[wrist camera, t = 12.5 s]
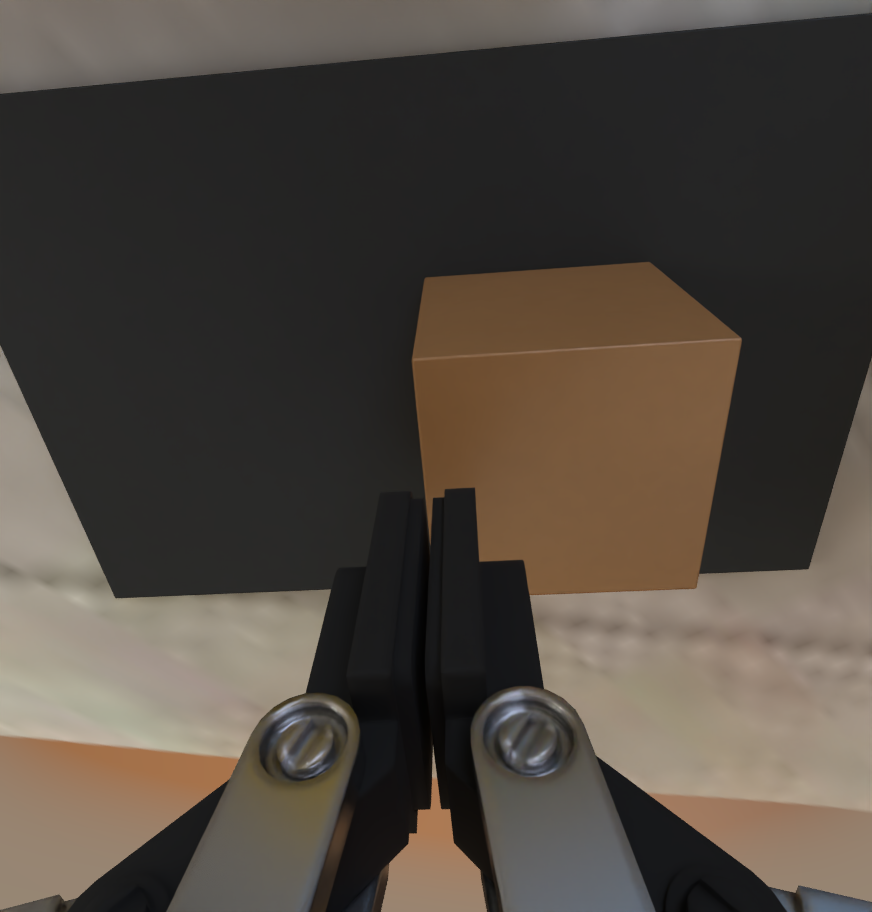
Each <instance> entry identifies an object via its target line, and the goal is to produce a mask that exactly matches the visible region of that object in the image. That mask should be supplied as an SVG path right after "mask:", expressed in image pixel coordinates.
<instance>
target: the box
mask: <svg viewBox="0 0 872 912" xmlns="http://www.w3.org/2000/svg"><path fill="white" fill-rule="evenodd" d="M741 343H742V339H741V337H739V336H738V335H737V334H736V333H735V332H733V331H732V330H731V329H730V328H729V327H727V326H726V325H725V324H724V323H723V322H721V321H720V320H719V319H718V318H717V317H715V316H714V315H713V314H712V313H711V312H709V311H708V310H707V309H706V308H705V307H703V306H702V305H701V304H700V303H699V302H697V301H696V300H695V299H694V298H693V297H691V296H690V295H689V294H688V293H686V292H685V291H684V290H683V289H682V288H680V287H679V286H678V285H677V284H676V283H674V282H673V281H672V280H671V279H670V278H668V277H667V276H666V275H665V274H664V273H662V272H661V271H660V270H659V269H658V268H656V267H655V266H654V265H653V264H652V263H650V262H640V263H626V264H611V265H597V266H583V267H569V268H554V269H540V270H526V271H511V272H497V273H483V274H468V275H454V276H440V277H426V278H425V279H424V285H423V291H422V298H421V304H420V310H419V317H418V323H417V330H416V336H415V343H414V349H413V356H412V369H413V379H414V388H415V398H416V408H417V418H418V428H419V438H420V448H421V458H422V468H423V478H424V488H425V498H426V508H427V518H428V528H429V537H430V544H431V524H432V504H433V498H438V497H444V491H445V489H455V488H474V487H475V495H476V513H477V530H478V547H479V562H481V561H504V560H523V561H524V564H525V570H526V576H527V583H528V589H529V595H545V594H571V593H596V592H621V591H647V590H672V589H695V588H696V587H697V582H698V576H699V571H700V565H701V560H702V555H703V549H704V544H705V538H706V533H707V527H708V522H709V516H710V511H711V506H712V500H713V495H714V489H715V484H716V478H717V473H718V468H719V462H720V457H721V451H722V446H723V440H724V435H725V429H726V424H727V419H728V413H729V408H730V402H731V397H732V391H733V386H734V381H735V375H736V370H737V364H738V359H739V353H740V348H741Z"/></svg>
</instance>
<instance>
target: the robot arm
mask: <svg viewBox="0 0 872 912" xmlns="http://www.w3.org/2000/svg"><path fill="white" fill-rule="evenodd" d="M433 747H434V755H435V763H436V771H437V779H438V787H439V795H440V803H441V809H450V812H451V821H452V829H453V839H454V843H455V844H456V845H457V846H458V847H459V848H460V849H461V850H462V851H463V853H465V855H466V856H467V857H468V858H469V859H470V860H471V861H472V862H473V863H474V864H475V865H476V866H477V867H478V868H479V869H480V870H481V880H482V885H483V892H484V897H485V903H486V909H487V912H872V902H869V901H865V900H860V899H855V898H852V897H847V896H843V895H838V894H834V893H830V892H825V891H821V890H817V889H812V888H808V887H803V886H798V888H797V891H796V893H793V892H789V891H784V890H780V889H776V888H771V887H768V886H767V885H766V884H765V883H764V882H763V881H762V880H761V879H759V878H758V877H757V876H756V875H755V874H754V873H753V872H752V871H751V870H749V869H748V868H746V867H745V866H744V865H742V864H741V863H740V862H738V861H737V860H736V859H734V858H733V857H732V856H730V855H729V854H728V853H726V852H725V851H723V850H722V849H721V848H720V847H718V846H717V845H716V844H714V843H713V842H711V841H710V840H709V839H707V838H706V837H705V836H703V835H702V834H701V833H699V832H698V831H696V830H695V829H694V828H692V827H691V826H690V825H688V824H687V823H686V822H685V821H683V820H681V818H679V817H678V816H676V815H675V814H674V813H672V812H671V811H670V810H668V809H667V808H666V807H664V806H663V805H662V804H660V803H659V802H658V801H656V800H655V799H654V798H652V797H651V796H650V795H648V794H647V793H646V792H644V791H643V790H641V789H640V788H639V787H637V786H636V785H635V784H633V783H632V782H631V781H629V780H628V779H627V778H625V777H624V776H623V775H621V774H620V773H619V772H617V771H616V770H615V769H613V768H612V767H611V766H609V765H608V764H606V763H605V762H604V761H602V760H601V759H600V758H598V757H597V756H596V755H595V752H594V750H593V747H592V744H591V742H590V739H589V736H588V734H587V731H586V729H585V726H584V724H583V722H582V720H581V719H580V717H579V715H578V713H577V712H576V710H575V709H574V708H573V707H572V706H571V705H570V704H569V703H568V702H567V701H565V700H564V699H563V698H562V697H560V696H558V695H556V694H554V693H552V692H550V691H548V690H545V689H544V686H543V680H542V673H541V667H540V660H539V654H538V647H537V641H536V635H535V628H534V622H533V615H532V609H531V602H530V596H529V589H528V583H527V576H526V570H525V564H524V561H523V560H504V561H481V562H479V547H478V530H477V513H476V495H475V487H474V488H455V489H445V491H444V497H438V498H433V504H432V524H431V544H430V550H429V541H428V531H427V521H426V512H425V503H424V498H418V499H413V495H412V491H395V492H381V493H380V495H379V500H378V506H377V511H376V517H375V522H374V528H373V533H372V538H371V544H370V549H369V555H368V560H367V566H366V567H344V568H338V570H337V571H336V574H335V577H334V581H333V585H332V589H331V593H330V597H329V601H328V605H327V609H326V613H325V617H324V621H323V625H322V629H321V633H320V638H319V642H318V646H317V650H316V654H315V658H314V662H313V666H312V670H311V674H310V678H309V682H308V686H307V690H306V693H305V694H302V695H299V696H295V697H292V698H289V699H287V700H286V701H284V702H282V703H280V704H279V705H277V706H275V707H274V708H273V709H271V710H270V711H269V712H268V713H267V714H266V715H265V716H264V717H263V718H262V719H261V720H260V722H259V723H258V725H257V726H256V728H255V729H254V731H253V732H252V734H251V736H250V738H249V740H248V742H247V744H246V746H245V748H244V750H243V752H242V755H241V757H240V759H239V761H238V763H237V765H236V767H235V770H234V771H233V774H232V775H231V778H230V779H229V780H228V781H227V782H225V783H224V784H223V785H221V786H220V787H219V788H217V789H216V790H215V791H213V792H212V793H211V794H210V795H208V796H207V797H206V798H204V799H203V800H202V801H201V802H199V803H198V804H197V805H195V806H194V807H192V808H191V809H190V810H189V811H187V812H186V813H185V814H183V815H182V816H181V817H179V818H178V819H177V820H175V821H174V822H173V823H171V824H170V825H169V826H168V827H166V828H165V829H164V830H162V831H161V832H160V833H158V834H157V835H156V836H154V837H153V838H152V839H150V840H149V841H148V842H146V843H145V844H144V845H143V846H141V847H140V848H139V849H138V850H136V851H135V852H133V853H132V854H131V855H129V856H128V857H127V858H125V859H124V860H123V861H121V862H120V863H119V864H118V865H116V866H115V867H114V868H112V869H111V870H110V871H108V872H107V873H106V874H104V875H103V876H102V877H101V878H99V879H98V880H97V881H96V882H94V883H93V884H92V885H91V886H90V887H89V888H88V889H87V890H86V891H85V892H84V893H82V894H81V895H80V896H79V897H78V898H76V899H72V900H68V901H64V900H63V899H62V897H61V896H60V895H56V896H52V897H48V898H44V899H40V900H37V901H33V902H29V903H25V904H22V905H18V906H14V907H10V908H6V909H3V910H0V912H381V908H382V903H383V899H384V895H385V890H386V885H387V881H388V871H389V863H390V861H391V860H392V859H393V858H394V857H395V856H396V855H397V854H398V853H399V852H400V851H401V850H402V849H403V848H404V847H405V846H406V845H407V844H408V841H409V833H417V815H418V810H420V809H421V810H423V809H424V810H425V809H430V807H431V789H432V788H431V787H432V756H433Z"/></svg>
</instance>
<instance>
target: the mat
mask: <svg viewBox="0 0 872 912" xmlns="http://www.w3.org/2000/svg"><path fill="white" fill-rule="evenodd" d="M640 262H650V263H652V264H653V265H654V266H655V267H656V268H658V269H659V270H660V271H661V272H662V273H664V274H665V275H666V276H667V277H668V278H670V279H671V280H672V281H673V282H674V283H676V284H677V285H678V286H679V287H680V288H682V289H683V290H684V291H685V292H686V293H688V294H689V295H690V296H691V297H693V298H694V299H695V300H696V301H697V302H699V303H700V304H701V305H702V306H703V307H705V308H706V309H707V310H708V311H709V312H711V313H712V314H713V315H714V316H715V317H717V318H718V319H719V320H720V321H721V322H723V323H724V324H725V325H726V326H727V327H729V328H730V329H731V330H732V331H733V332H735V333H736V334H737V335H738V336H739V337H741V339H742V343H741V348H740V353H739V359H738V364H737V370H736V375H735V381H734V386H733V391H732V397H731V402H730V408H729V413H728V419H727V424H726V429H725V435H724V440H723V446H722V451H721V457H720V462H719V468H718V473H717V478H716V484H715V489H714V495H713V500H712V506H711V511H710V516H709V522H708V527H707V533H706V538H705V544H704V549H703V555H702V560H701V565H700V571H699V574H705V573H729V572H753V571H777V570H801V569H809V566H810V562H811V559H812V556H813V552H814V549H815V545H816V542H817V539H818V535H819V532H820V529H821V525H822V522H823V519H824V515H825V512H826V509H827V505H828V502H829V498H830V495H831V492H832V488H833V485H834V482H835V478H836V475H837V472H838V468H839V465H840V462H841V458H842V455H843V451H844V448H845V445H846V441H847V438H848V435H849V431H850V428H851V425H852V421H853V418H854V415H855V411H856V408H857V404H858V401H859V398H860V394H861V391H862V388H863V384H864V381H865V378H866V374H867V371H868V368H869V364H870V361H871V357H872V13H869V14H858V15H847V16H836V17H826V18H815V19H804V20H793V21H782V22H772V23H761V24H750V25H739V26H729V27H718V28H707V29H696V30H685V31H675V32H664V33H653V34H642V35H632V36H621V37H610V38H599V39H588V40H578V41H567V42H556V43H545V44H535V45H524V46H513V47H502V48H492V49H481V50H470V51H459V52H448V53H438V54H427V55H416V56H405V57H395V58H384V59H373V60H362V61H351V62H341V63H330V64H319V65H308V66H298V67H287V68H276V69H265V70H254V71H244V72H233V73H222V74H211V75H201V76H190V77H179V78H168V79H158V80H147V81H136V82H125V83H114V84H104V85H93V86H82V87H71V88H61V89H50V90H39V91H28V92H17V93H7V94H0V345H1V347H2V350H3V352H4V354H5V356H6V358H7V361H8V363H9V365H10V367H11V369H12V372H13V374H14V376H15V378H16V380H17V383H18V385H19V387H20V389H21V391H22V394H23V396H24V398H25V400H26V402H27V405H28V407H29V409H30V411H31V413H32V416H33V418H34V420H35V422H36V424H37V427H38V429H39V431H40V433H41V435H42V438H43V440H44V442H45V444H46V446H47V449H48V451H49V453H50V455H51V457H52V460H53V462H54V464H55V466H56V468H57V471H58V473H59V475H60V477H61V479H62V482H63V484H64V486H65V488H66V490H67V493H68V495H69V497H70V499H71V501H72V504H73V506H74V508H75V510H76V512H77V515H78V517H79V519H80V521H81V523H82V526H83V528H84V530H85V532H86V534H87V537H88V539H89V541H90V543H91V545H92V548H93V550H94V552H95V554H96V556H97V559H98V561H99V563H100V565H101V567H102V570H103V572H104V574H105V576H106V578H107V581H108V583H109V585H110V587H111V589H112V592H113V594H114V596H115V598H134V597H158V596H182V595H206V594H229V593H253V592H277V591H301V590H325V589H332V585H333V581H334V577H335V574H336V571H337V570H338V568H344V567H366V566H367V560H368V555H369V549H370V544H371V538H372V533H373V528H374V522H375V517H376V511H377V506H378V500H379V495H380V493H381V492H395V491H412V495H413V499H418V498H424V503H425V512H426V521H427V531H428V541H429V550H430V537H429V528H428V518H427V508H426V498H425V488H424V478H423V468H422V458H421V448H420V438H419V428H418V418H417V408H416V398H415V388H414V379H413V369H412V356H413V349H414V343H415V336H416V330H417V323H418V317H419V310H420V304H421V298H422V291H423V285H424V279H425V278H426V277H440V276H454V275H468V274H483V273H497V272H511V271H526V270H540V269H554V268H569V267H583V266H597V265H611V264H626V263H640Z"/></svg>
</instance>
